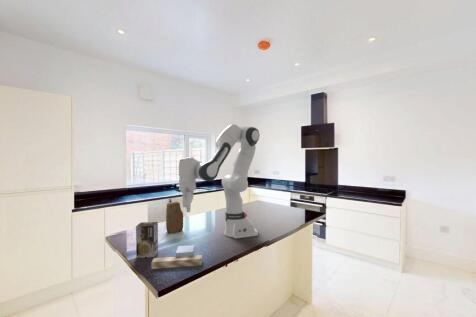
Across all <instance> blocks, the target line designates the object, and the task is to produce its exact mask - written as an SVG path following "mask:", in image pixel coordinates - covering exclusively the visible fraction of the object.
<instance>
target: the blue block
mask: <svg viewBox="0 0 476 317" xmlns="http://www.w3.org/2000/svg"><path fill="white" fill-rule="evenodd" d="M194 255H195V244H192V245H191V244H190V245H178V246H177V249H176V251H175V257H178V256H194Z"/></svg>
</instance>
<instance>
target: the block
mask: <svg viewBox="0 0 476 317" xmlns="http://www.w3.org/2000/svg"><path fill="white" fill-rule="evenodd" d="M165 215H166V216H165V228H166V229H165V230H166V232H167V233H168V234H177V233H181V232H182V231H183V228H184V212H183V211H182V208H181V204H180V202H179V201H172V202H168V203H166V214H165Z"/></svg>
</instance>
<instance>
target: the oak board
mask: <svg viewBox="0 0 476 317" xmlns="http://www.w3.org/2000/svg"><path fill="white" fill-rule="evenodd" d="M202 262H203V255H202V254H197V255H195V254H194V256H178V257H176V256H168V257H167V256H165V257H164V256H162V257H153V259H152V261H151V270H157V269H171V268H182V267H195V266H197V267H198V266H202Z"/></svg>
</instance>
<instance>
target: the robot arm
mask: <svg viewBox="0 0 476 317" xmlns="http://www.w3.org/2000/svg"><path fill="white" fill-rule="evenodd" d="M259 140H260V131H259V129H258V128H256V127H254V126H239V125H238V124H234V123H232V124H230V125H228V126H227V127H226V128H224V129H223V130H222V131H221V132H220V134H219V135H218V137H217V138H216V140H215V147H216V148H217V151H216V152H215V154H214V155H213V157H212V158H211V159H210V160H209V161H206V162H202V161H200V160H197V159H195V158H194V157H192V156H189V157H184V158H181V159H180V160H179V161H178V175H179V180H178V183H179V186H178V187H179V188H178V189H179V191H180V192H181V194H182V208H185V209H186V213H190V212H191V207H192V206H191V205H192V202H193V200H194V191H195V190H196V189H197V185H196V181H197V180H203V181H204V182H212V181H214V180H215V179H216V178H217V177H218V175H219V171H220V169H221V167H222V165H223V164H224V162H225V161H226V159H227V157H228V156H229V154H230V152H231V150H232V149H233V147H234V146H235V144H237V143H240V148H239V149H238V151H237V154H236V157H235V159H234V161H233V164H232V166H233V168H232V170H233V171H232V173H228V174H227V175H224V176H223V177H222V179H221V185H222V187H223V191H224V192H223V193H224V196H225V197H224V198H225V212H224V219H225V224H224V231H223V235H224V236H226V237H228V238H229V237H230V238H233V239H241V238H250V237H256V236H258V235H259V232H258V230H257V229H256V228H255V225H254V224H253V222H252V221H251V220H250V219H249V218H247V217H248V214H247V212H244V210H243V209H244V208H243V198H242V196H241V193H243V192H245V191H246V190H247V188H248V187H249V182H248V175H249V170H250V167H251V164H252V162H253V159H254V156H255V153H256V149H257V148H256V145H257V143H258V142H259Z"/></svg>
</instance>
